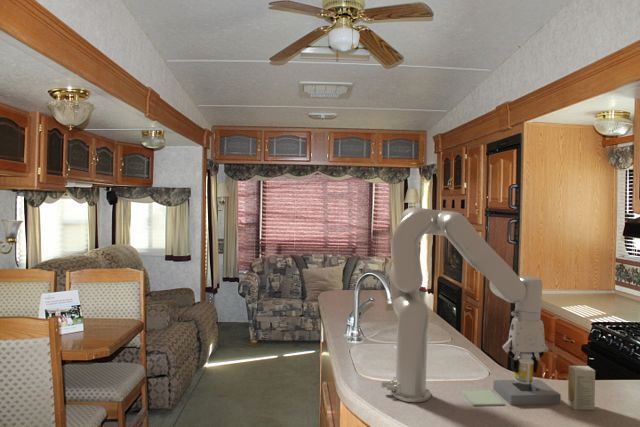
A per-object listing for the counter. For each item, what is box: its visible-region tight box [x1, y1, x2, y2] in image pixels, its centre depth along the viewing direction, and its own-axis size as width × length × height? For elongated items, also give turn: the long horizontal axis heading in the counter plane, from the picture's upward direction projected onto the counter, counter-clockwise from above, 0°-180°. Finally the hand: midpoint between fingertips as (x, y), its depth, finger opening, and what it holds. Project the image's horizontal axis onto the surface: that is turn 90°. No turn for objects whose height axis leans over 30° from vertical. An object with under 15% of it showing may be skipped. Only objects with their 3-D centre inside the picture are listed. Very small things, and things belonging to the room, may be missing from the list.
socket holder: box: [492, 379, 562, 406], centre depth 153 cm, size 16×12×3 cm
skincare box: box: [567, 365, 596, 411], centre depth 146 cm, size 6×4×12 cm
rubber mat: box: [460, 389, 506, 407], centre depth 151 cm, size 10×10×1 cm
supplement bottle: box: [513, 352, 534, 384], centre depth 153 cm, size 5×5×10 cm
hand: (524, 370), depth 153 cm, fingers closed on supplement bottle, 5 cm apart
